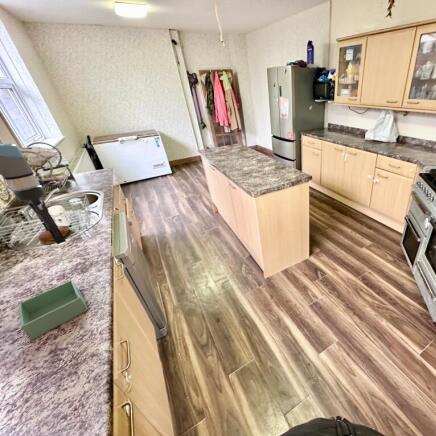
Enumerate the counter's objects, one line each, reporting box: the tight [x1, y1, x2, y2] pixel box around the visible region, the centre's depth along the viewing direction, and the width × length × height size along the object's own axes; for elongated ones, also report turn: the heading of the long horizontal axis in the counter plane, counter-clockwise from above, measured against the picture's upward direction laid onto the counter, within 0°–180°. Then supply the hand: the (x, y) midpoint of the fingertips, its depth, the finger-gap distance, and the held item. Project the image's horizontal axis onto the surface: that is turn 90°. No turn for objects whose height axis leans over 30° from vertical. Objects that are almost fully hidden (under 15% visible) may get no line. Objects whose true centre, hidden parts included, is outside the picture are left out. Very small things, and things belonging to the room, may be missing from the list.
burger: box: [37, 225, 73, 246], centre depth 95 cm, size 10×9×5 cm
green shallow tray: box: [18, 279, 89, 340], centre depth 75 cm, size 14×14×6 cm
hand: (58, 238), depth 96 cm, fingers closed on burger, 10 cm apart
